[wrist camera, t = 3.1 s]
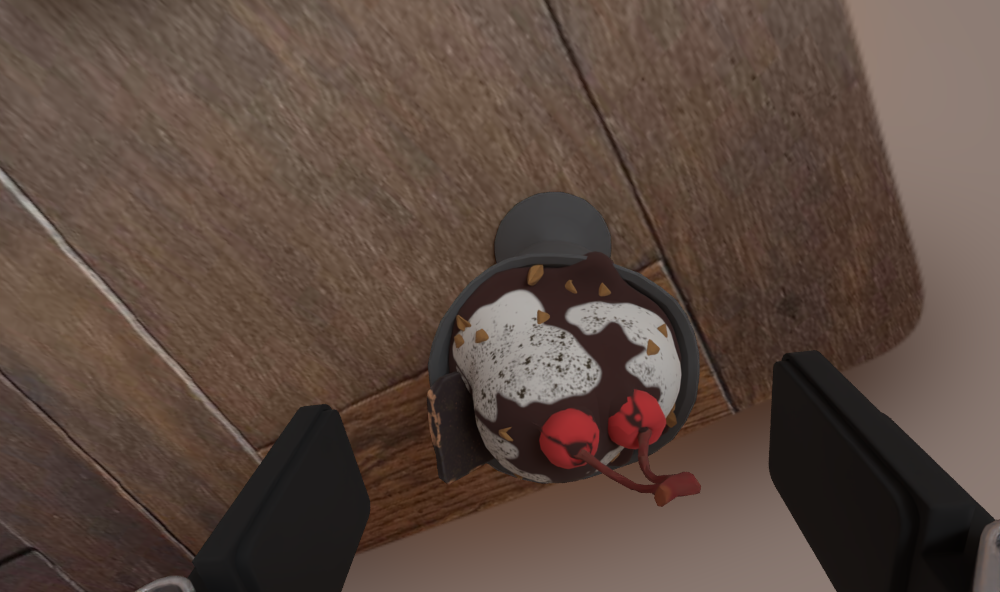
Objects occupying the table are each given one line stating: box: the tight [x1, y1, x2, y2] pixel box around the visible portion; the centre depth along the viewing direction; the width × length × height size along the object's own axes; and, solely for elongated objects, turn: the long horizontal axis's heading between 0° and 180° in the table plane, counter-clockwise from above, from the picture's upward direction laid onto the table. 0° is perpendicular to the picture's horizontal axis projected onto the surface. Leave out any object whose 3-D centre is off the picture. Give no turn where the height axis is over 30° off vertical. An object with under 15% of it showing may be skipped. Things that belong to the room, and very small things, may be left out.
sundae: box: [427, 192, 701, 507], centre depth 15 cm, size 7×7×15 cm
